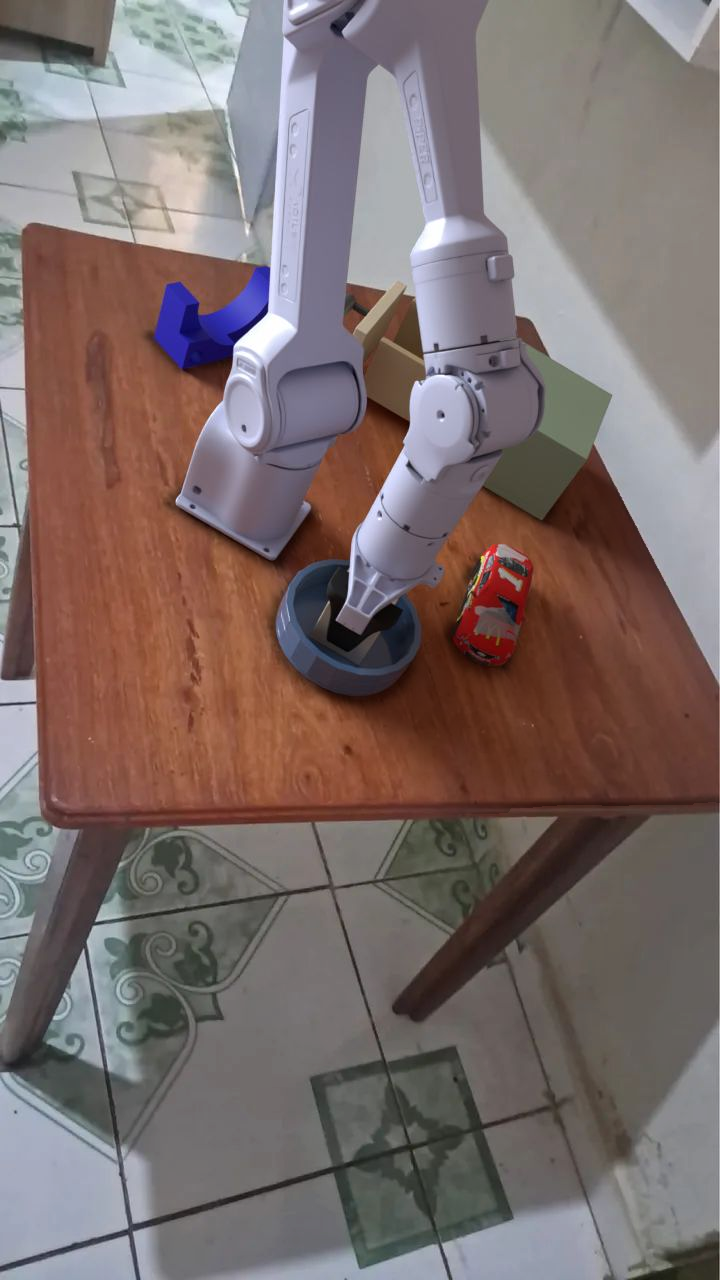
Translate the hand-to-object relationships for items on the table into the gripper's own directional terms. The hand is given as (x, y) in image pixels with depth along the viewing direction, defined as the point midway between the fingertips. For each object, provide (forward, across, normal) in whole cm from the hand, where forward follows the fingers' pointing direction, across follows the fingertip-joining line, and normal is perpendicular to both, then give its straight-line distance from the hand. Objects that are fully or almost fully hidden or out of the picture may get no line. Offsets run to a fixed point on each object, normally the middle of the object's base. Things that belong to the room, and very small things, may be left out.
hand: (350, 623), depth 75 cm
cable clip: (+2, +25, +25) cm, 35 cm away
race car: (+2, +11, -10) cm, 15 cm away
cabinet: (+2, +33, -4) cm, 33 cm away
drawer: (+1, +33, +9) cm, 34 cm away
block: (+1, 0, 0) cm, 1 cm away
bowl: (+2, 0, 0) cm, 2 cm away
